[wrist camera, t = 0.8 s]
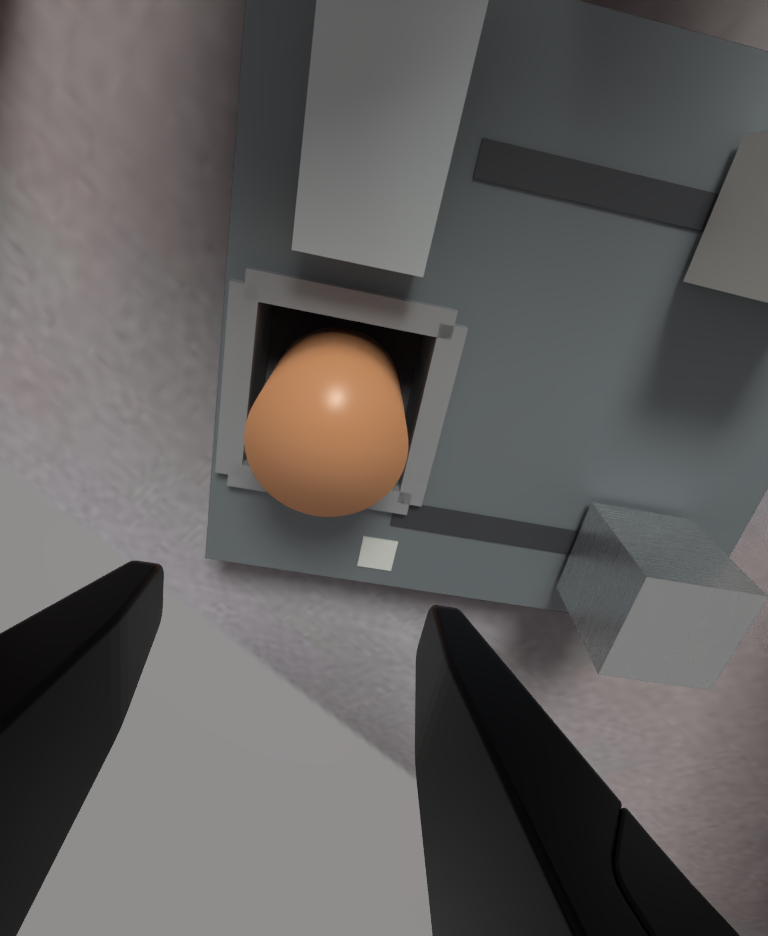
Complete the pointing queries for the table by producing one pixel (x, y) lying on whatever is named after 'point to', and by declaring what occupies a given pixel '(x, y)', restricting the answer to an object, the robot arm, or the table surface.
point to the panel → (516, 306)
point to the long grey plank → (382, 126)
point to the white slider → (738, 228)
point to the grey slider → (656, 597)
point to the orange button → (329, 425)
